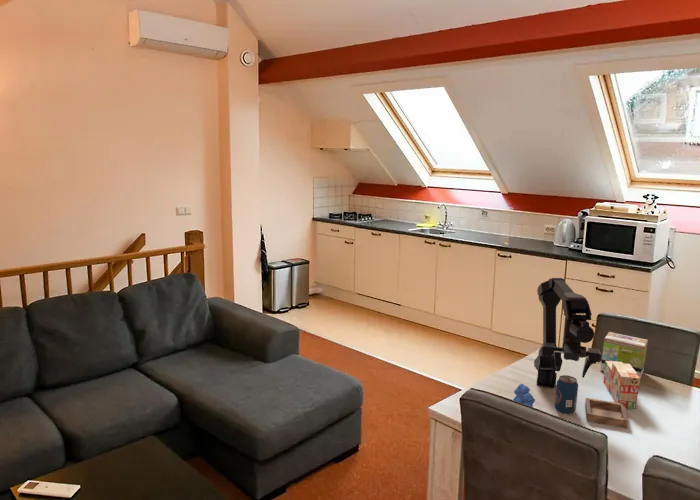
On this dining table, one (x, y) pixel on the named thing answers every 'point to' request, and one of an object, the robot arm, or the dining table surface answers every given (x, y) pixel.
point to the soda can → (566, 394)
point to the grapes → (524, 395)
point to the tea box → (624, 351)
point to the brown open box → (606, 413)
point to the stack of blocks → (622, 383)
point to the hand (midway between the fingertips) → (568, 375)
